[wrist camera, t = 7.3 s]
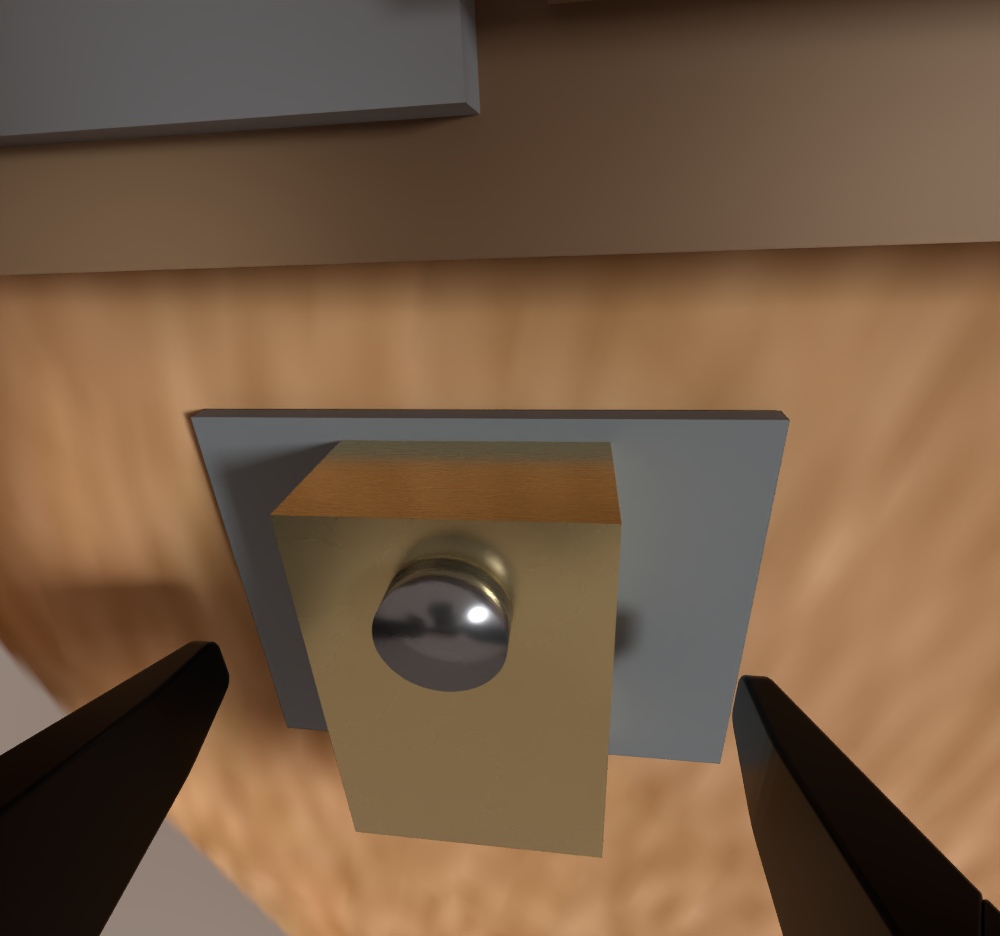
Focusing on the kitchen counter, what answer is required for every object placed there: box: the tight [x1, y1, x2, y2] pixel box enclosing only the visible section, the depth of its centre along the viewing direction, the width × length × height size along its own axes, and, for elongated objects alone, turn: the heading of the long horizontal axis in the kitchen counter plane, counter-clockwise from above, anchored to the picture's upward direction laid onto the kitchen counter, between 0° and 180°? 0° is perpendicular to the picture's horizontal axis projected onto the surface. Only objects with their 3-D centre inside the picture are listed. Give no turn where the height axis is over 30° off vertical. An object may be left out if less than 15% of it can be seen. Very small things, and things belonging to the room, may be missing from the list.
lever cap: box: [270, 440, 622, 858], centre depth 9 cm, size 7×5×3 cm, turn 3°
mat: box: [191, 409, 790, 764], centre depth 11 cm, size 10×8×1 cm
